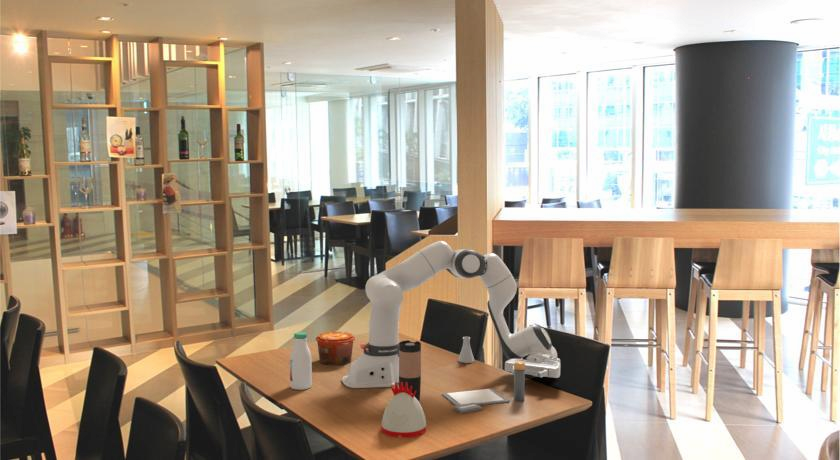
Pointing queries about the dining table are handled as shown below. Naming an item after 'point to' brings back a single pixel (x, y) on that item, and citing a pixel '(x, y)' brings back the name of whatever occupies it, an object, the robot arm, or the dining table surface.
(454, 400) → the paper pad
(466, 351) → the flask
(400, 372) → the travel mug
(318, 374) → the dining table surface
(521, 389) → the marker
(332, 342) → the food container
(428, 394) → the dining table surface
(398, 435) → the kitchen timer
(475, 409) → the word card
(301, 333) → the milk bottle
